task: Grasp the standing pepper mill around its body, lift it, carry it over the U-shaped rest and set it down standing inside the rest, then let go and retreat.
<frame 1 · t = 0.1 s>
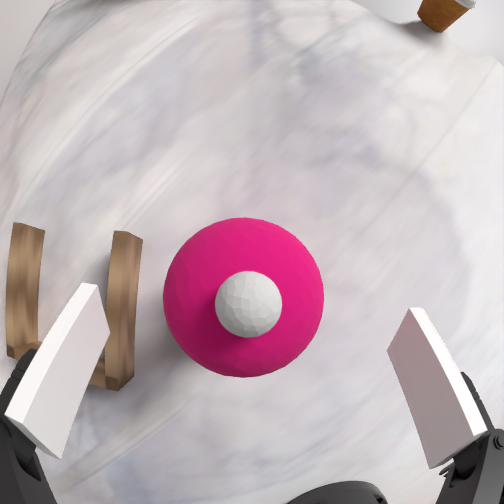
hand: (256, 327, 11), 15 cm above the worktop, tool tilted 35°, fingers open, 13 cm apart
pepper mill: (236, 289, 27), on the worktop
u rest: (77, 300, 25), on the worktop
disposable coffee cup: (430, 22, 35), on the worktop
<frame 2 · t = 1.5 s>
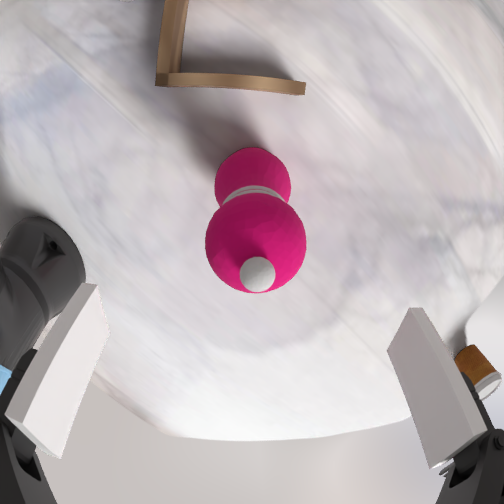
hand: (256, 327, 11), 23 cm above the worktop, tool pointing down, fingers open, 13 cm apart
pepper mill: (251, 174, 31), on the worktop
u rest: (237, 30, 23), on the worktop
disposable coffee cup: (464, 353, 50), on the worktop
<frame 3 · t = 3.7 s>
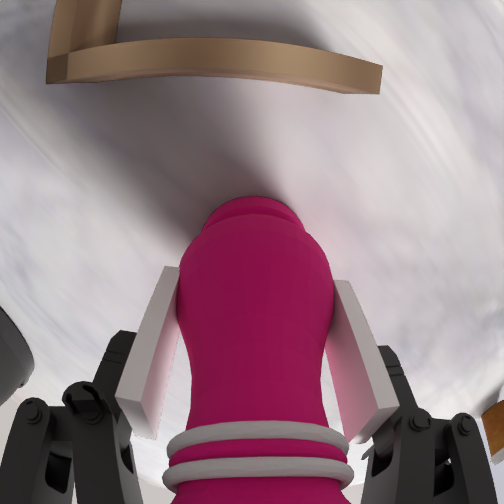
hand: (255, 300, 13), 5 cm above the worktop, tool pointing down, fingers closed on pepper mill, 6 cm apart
pepper mill: (253, 244, 17), on the worktop, touching gripper
disposable coffee cup: (493, 408, 36), on the worktop
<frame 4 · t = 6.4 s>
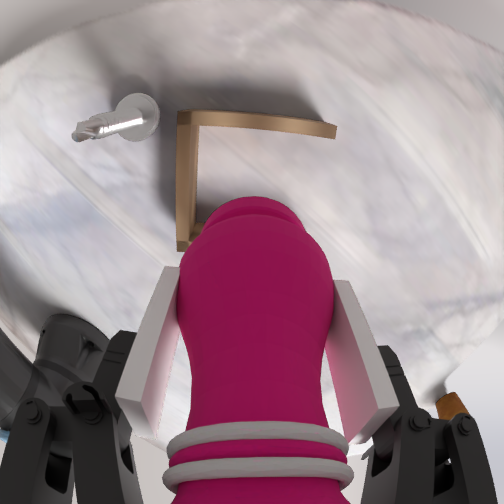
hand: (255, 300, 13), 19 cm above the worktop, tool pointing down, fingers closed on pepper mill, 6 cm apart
pepper mill: (253, 244, 17), point 14 cm above the worktop, touching gripper
u rest: (250, 177, 29), on the worktop
disposable coffee cup: (445, 398, 56), on the worktop
screw: (143, 115, 26), on the worktop
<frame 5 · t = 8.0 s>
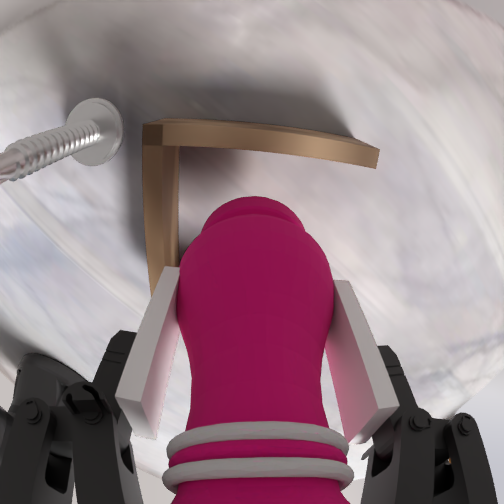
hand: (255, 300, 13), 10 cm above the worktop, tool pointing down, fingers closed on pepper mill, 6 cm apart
pepper mill: (253, 244, 17), point 5 cm above the worktop, touching gripper
u rest: (251, 213, 22), on the worktop
screw: (105, 128, 18), on the worktop
when the fingers open (6 cm above the worktop, at t = 9.1 s): pepper mill drops 1 cm, resting in u rest.
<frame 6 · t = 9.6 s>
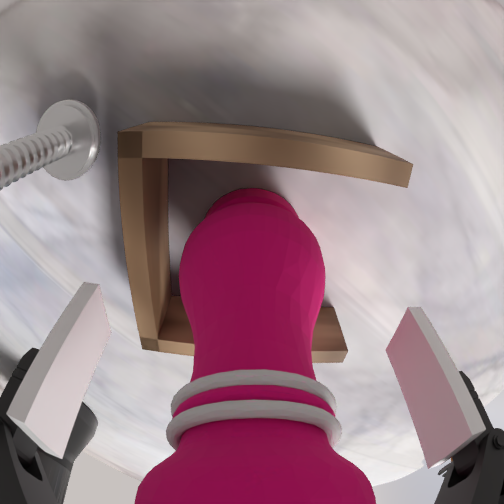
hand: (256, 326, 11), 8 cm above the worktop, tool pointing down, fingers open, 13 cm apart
pepper mill: (251, 233, 19), resting in u rest
u rest: (254, 234, 19), on the worktop
screw: (83, 134, 15), on the worktop
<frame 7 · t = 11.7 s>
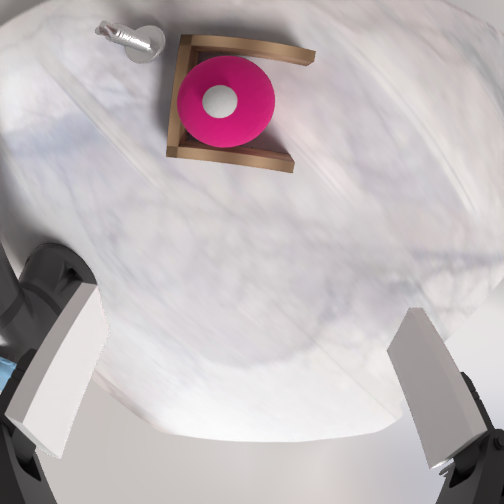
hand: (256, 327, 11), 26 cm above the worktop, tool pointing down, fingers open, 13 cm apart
pepper mill: (238, 100, 30), resting in u rest
u rest: (239, 100, 30), on the worktop
screw: (151, 46, 26), on the worktop
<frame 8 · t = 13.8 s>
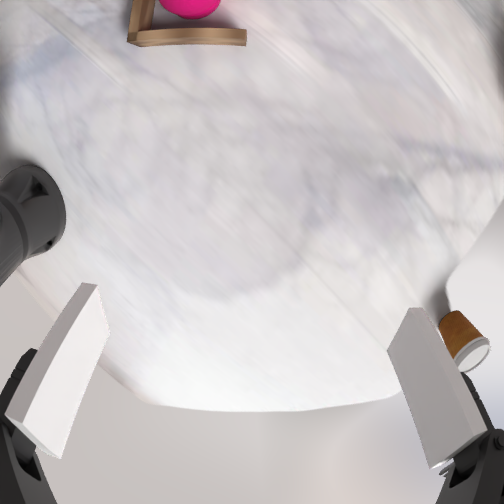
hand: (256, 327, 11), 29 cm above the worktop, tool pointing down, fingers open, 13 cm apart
pepper mill: (196, 0, 25), resting in u rest
disposable coffee cup: (449, 320, 52), on the worktop
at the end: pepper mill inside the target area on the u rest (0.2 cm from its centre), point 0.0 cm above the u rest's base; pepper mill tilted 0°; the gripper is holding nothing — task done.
